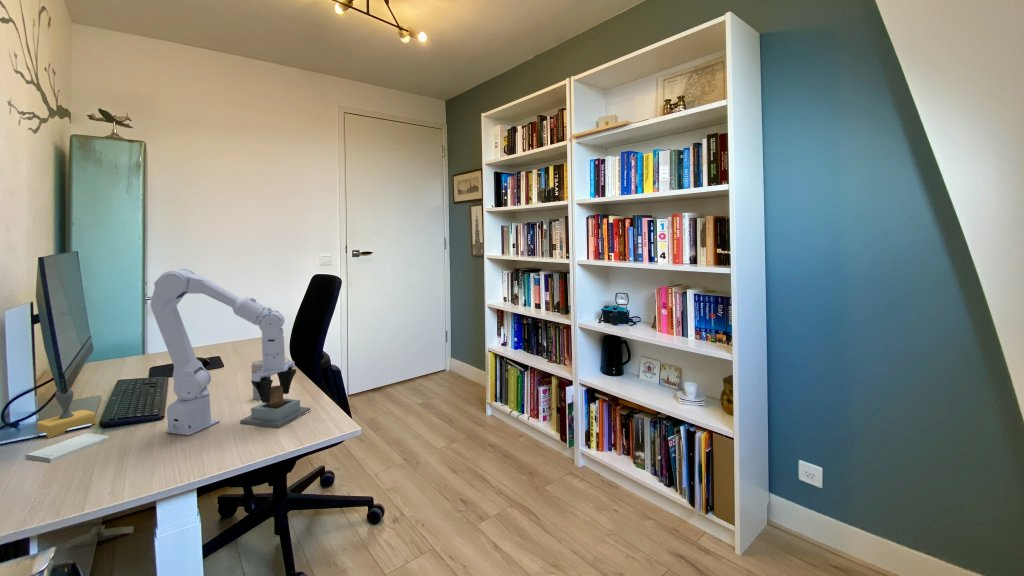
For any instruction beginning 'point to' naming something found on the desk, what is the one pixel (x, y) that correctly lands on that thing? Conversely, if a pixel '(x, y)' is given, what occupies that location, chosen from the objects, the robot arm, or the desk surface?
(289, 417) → the socket block
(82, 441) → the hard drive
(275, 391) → the walnut pin
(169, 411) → the robot arm
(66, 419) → the rubber stamp
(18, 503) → the desk surface
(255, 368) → the energy drink
